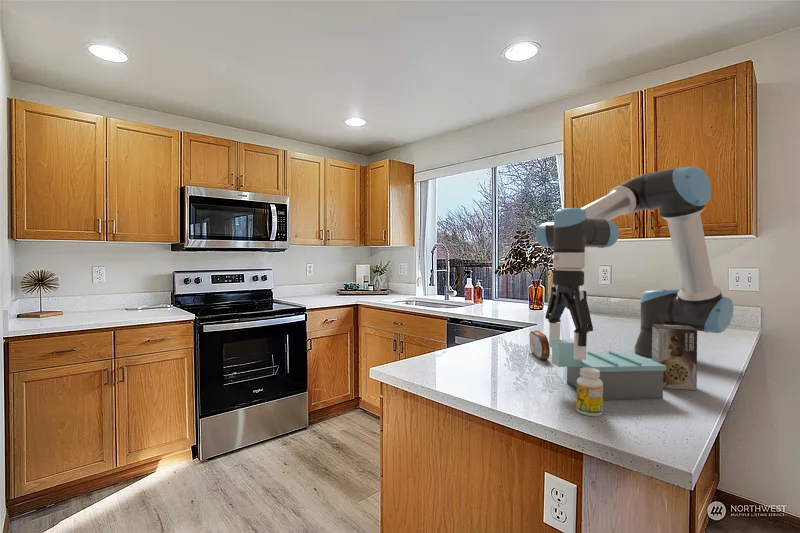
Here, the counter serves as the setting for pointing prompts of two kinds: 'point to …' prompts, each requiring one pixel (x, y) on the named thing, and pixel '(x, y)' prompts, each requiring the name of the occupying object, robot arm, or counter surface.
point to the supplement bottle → (589, 392)
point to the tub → (625, 384)
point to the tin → (539, 345)
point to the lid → (601, 359)
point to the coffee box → (676, 355)
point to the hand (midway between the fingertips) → (566, 352)
